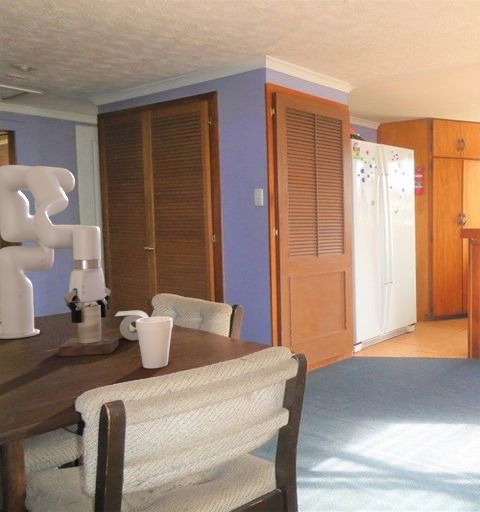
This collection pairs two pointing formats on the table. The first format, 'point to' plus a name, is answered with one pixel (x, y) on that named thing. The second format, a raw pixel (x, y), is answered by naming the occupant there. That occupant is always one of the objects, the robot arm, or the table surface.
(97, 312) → the rotary dial knob
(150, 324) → the foam cup
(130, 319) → the toilet paper holder
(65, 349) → the brown square plate
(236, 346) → the table surface
